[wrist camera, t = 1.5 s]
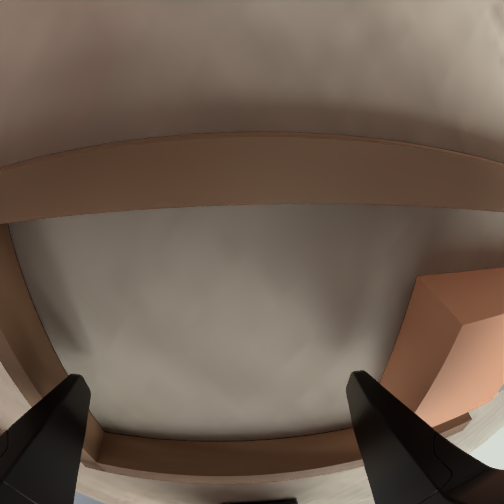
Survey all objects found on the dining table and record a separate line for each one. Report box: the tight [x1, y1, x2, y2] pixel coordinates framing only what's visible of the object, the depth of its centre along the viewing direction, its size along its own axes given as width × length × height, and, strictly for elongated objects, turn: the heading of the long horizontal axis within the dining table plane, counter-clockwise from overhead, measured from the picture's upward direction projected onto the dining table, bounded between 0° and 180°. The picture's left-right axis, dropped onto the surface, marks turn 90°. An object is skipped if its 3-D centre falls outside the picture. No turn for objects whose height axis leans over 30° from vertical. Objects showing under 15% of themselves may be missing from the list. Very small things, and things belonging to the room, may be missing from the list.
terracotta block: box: [379, 267, 504, 427], centre depth 9 cm, size 6×6×3 cm
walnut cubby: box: [0, 132, 504, 484], centre depth 9 cm, size 14×21×2 cm
